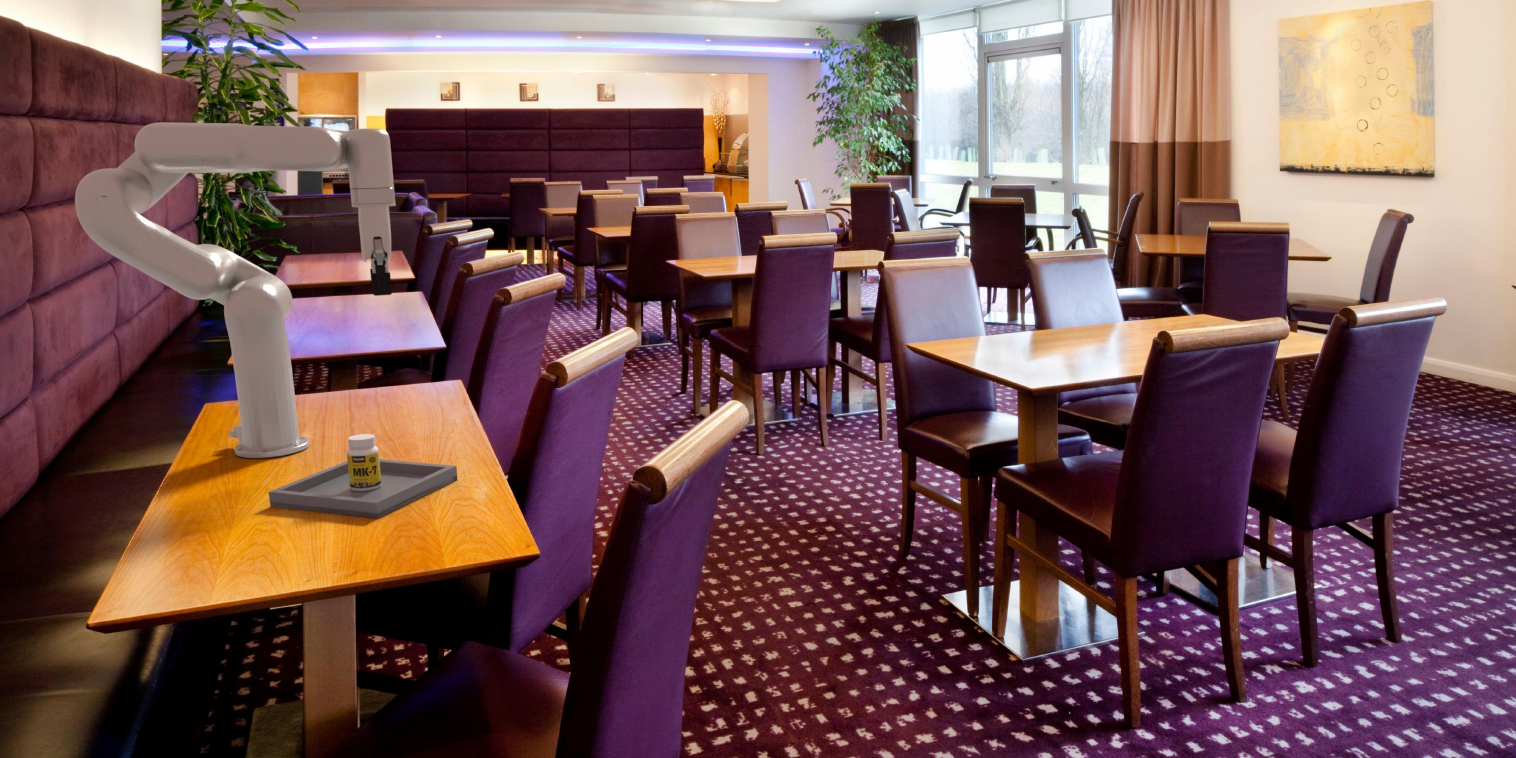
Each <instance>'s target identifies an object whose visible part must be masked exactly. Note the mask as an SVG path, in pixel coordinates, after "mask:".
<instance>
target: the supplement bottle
mask: <svg viewBox="0 0 1516 758" xmlns="http://www.w3.org/2000/svg"><path fill="white" fill-rule="evenodd" d="M347 443H348V449H347V451H346V461H347V462H348V473H349V483H350V489H351V490H353V491H358V492H363V491H370V490H375V489H377V488H379V487H380V486H381V473H380V461H379V459H380V452H379V448H378V447H377V446H376V436H375V434H372V433H361V434H355V435H351V436H349V437H348V438H347Z"/></svg>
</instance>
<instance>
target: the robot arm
mask: <svg viewBox="0 0 1516 758" xmlns="http://www.w3.org/2000/svg"><path fill="white" fill-rule="evenodd" d="M392 162H393V160H392V149H391V139H390V135H389V132H387V130H385V129H383V128H353V129H350V130H338V129H331V128H326V127H322V126H293V125H292V126H291V125H290V126H288V125H287V126H284V125H282V126H281V125H279V126H277V125H251V124H245V123H220V122H218V123H217V122H214V123H213V122H211V123H210V122H209V123H208V122H164V121H163V122H162V121H161V122H153V123H148V124H146V125H144V126H143V127H142V128H141V129H139V131H138V132H137V133H136V136H135V140H134V152H133V153H132V154H131V155H130V156H129V157H128V158H127V159H125V160H124V161H123V162H122V163H121V164H119V165H118V166H117V167H115V168H114V167H112V168H111V167H110V168H109V167H107V168H101V169H99V168H98V169H96V170H93V171H92V172H89V173H87V174H86V175H85V176H83V178H82V179H80V181H79V183H78V185H77V187H76V190H75V194H74V195H75V197H74V207H75V211H76V212H75V213H76V216H77V219H78V222H79V223H80V225H81V227H82V229H83V230H84V232H85V234H86V235H87V236H88V237H89V238H90V239H91V240H92V241H93V242H94V243H95V244H96V245H97V246H99V247H100V248H102V250H104V251H105V252H107V253H109V254H110V255H112V256H114V258H116V259H119V260H120V261H122V262H124V263H126V264H127V265H129V266H131V267H133V268H135V269H137V270H139V271H140V272H141V273H143V274H145V275H146V276H149V277H150V278H152V279H154V280H156V281H158V282H159V283H162V284H163V285H165V286H167V287H169V288H171V289H172V290H174V291H176V292H177V293H178V294H180V295H182V296H184V297H186V298H189V299H190V300H191V299H192V300H196V301H201V300H202V301H203V300H208V299H211V300H213V301H215V302H216V303H219V304H221V305H223V307H224V308H223V313H224V314H223V315H224V321H225V325H226V330H227V334H228V338H229V343H230V344H229V345H230V349H231V358H232V365H233V370H234V371H233V372H234V377H235V378H234V379H235V387H236V394H237V402H238V410H239V419H240V424H236V425H234V426H233V427H232V428H233V429H230V430H229V431H228V436H229V437H230V438H235V439H236V438H238V443H239V444H236V446H235V447H234V454H235V455H236V457H240V458H246V459H265V458H266V459H267V458H268V459H269V458H274V457H282V456H287V455H291V454H294V453H295V454H296V453H298V452H302V451H304V450H305V449H307V448H308V447H309V446H310V439H309V438H308V437H306V436H303V435H300V434H299V433H300V429H299V422H298V411H297V405H296V395H295V385H294V377H293V375H294V374H293V366H292V360H291V353H290V345H289V338H288V334H287V333H288V332H287V327H286V322H285V321H286V320H285V319H286V318H287V317H288V315H289V314H290V312H291V310H292V307H293V296H292V293H291V290H290V288H289V287H288V286H287V284H286V283H285V282H284V281H283V280H282V279H280V278H279V277H277V276H276V275H274V274H273V273H270V272H269V271H266V270H265V269H263V268H261V267H260V266H258V265H256V264H254V263H252V262H251V261H249V260H247V259H246V258H244V257H242V256H239V254H236V253H235V252H233V251H230V250H229V249H227V248H224V247H222V246H220V245H217V244H210V243H202V244H195V243H193V242H190V241H189V240H188V239H185V238H183V237H181V236H179V235H177V234H175V233H174V232H172V231H170V230H169V229H167V228H165V227H164V226H161V225H160V224H158V223H156V222H154V221H151V220H149V219H148V218H146V217H144V216H143V215H141V214H143V213H145V212H146V211H148V210H149V209H151V208H152V207H153V206H155V205H156V204H157V203H158V202H159V201H160V200H161V199H162V198H164V196H165V195H166V194H167V193H169V191H170V190H172V189H173V188H174V187H175V186H176V185H177V184H178V183H180V181H182V179H184V178H185V177H186V176H187V175H188V174H191V173H192V174H195V173H198V174H201V173H202V174H203V173H204V174H207V173H208V174H248V173H250V174H251V173H254V172H265V171H266V172H269V171H270V172H272V171H274V172H275V171H277V172H278V171H281V172H282V171H286V172H287V171H289V172H291V171H292V172H293V171H294V172H296V171H297V172H330V171H338V170H343V169H344V170H345V169H347V170H348V177H349V178H348V179H349V180H348V181H349V190H350V200H351V208H358V211H357V212H358V227H359V239H360V250H361V257H362V261H363V262H364V263H367V261H368V260H370V269H369V273H370V274H369V275H370V283H371V289H372V295H373V296H375V297H376V296H378V297H379V296H391V295H392V294H393V291H392V279H391V272H390V271H389V261H390V260H391V259H392V231H391V218H390V217H391V216H390V207H396V206H397V205H396V197H395V196H396V194H395V184H394V174H393V173H394V172H393V163H392Z"/></svg>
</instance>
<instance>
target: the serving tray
mask: <svg viewBox="0 0 1516 758" xmlns="http://www.w3.org/2000/svg"><path fill="white" fill-rule="evenodd" d="M379 461H380V473H381V486H380V487H379V488H377V489H375V490H370V491H363V492H358V491H353V490H351V489H350V483H349V473H348V462H347V460H346V461H343V462H342V463H338V464H336V465H334V466H330V467H328V468H326V469H323V470H320V471H318V472H315V473H313V474H310V475H308V476H305V477H302V478H301V479H300V478H299V479H298V480H294V481H293V482H290V483H288V484H284V485H282V486H279V487H277V488H274V489H272V490H270V491H268V498H269V499H268V500H269V506H270V507H271V508H278V509H289V510H298V511H304V512H305V511H306V512H315V513H325V514H334V515H341V516H343V515H345V516H352V517H362V518H371V519H380V518H382V517H384V516H386V515H388V514H391V513H392V512H394V511H396V510H398V509H400V508H403V507H404V506H406V505H408V504H411V503H413V502H415V501H417V500H420V499H421V498H423V497H426V496H427V495H429V494H431V493H433V492H436V491H438V490H439V489H441V488H444V487H446V486H448V485H450V484H452V483H455V482H456V481H458V471H457V470H458V469H457V465H449V464H439V463H428V462H427V463H426V462H417V461H405V460H404V461H403V460H392V459H380V458H379Z"/></svg>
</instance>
